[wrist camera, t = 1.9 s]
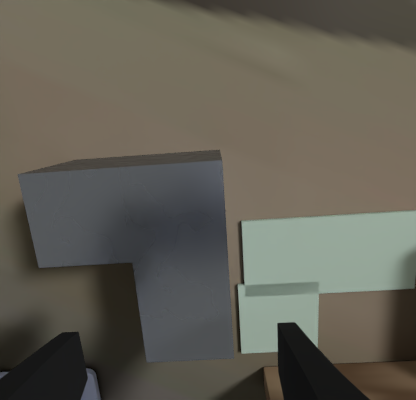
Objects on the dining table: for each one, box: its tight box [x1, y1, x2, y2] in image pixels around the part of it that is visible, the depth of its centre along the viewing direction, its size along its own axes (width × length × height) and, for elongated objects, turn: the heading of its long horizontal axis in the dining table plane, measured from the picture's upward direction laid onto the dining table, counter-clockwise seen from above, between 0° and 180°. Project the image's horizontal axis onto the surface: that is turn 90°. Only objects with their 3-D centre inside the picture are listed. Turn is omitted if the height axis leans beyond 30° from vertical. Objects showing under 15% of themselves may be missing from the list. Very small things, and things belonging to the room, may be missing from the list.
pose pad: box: [238, 210, 416, 353], centre depth 18 cm, size 10×9×1 cm
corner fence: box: [264, 361, 416, 400], centre depth 16 cm, size 13×11×4 cm
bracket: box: [18, 150, 234, 362], centre depth 15 cm, size 9×8×5 cm
